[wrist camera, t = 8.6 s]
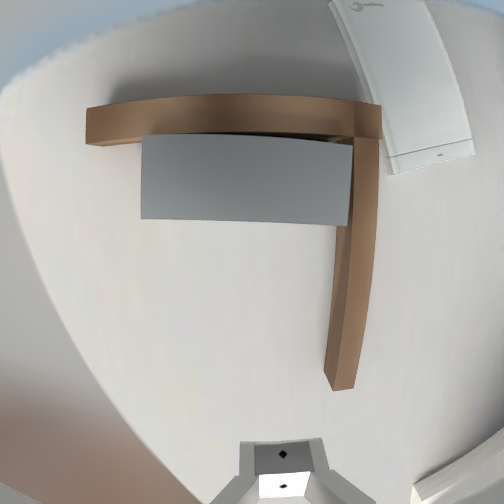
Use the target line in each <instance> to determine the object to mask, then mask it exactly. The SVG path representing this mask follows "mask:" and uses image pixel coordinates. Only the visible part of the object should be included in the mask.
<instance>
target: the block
mask: <svg viewBox="0 0 504 504" xmlns="http://www.w3.org/2000/svg"><path fill="white" fill-rule="evenodd" d="M503 477H504V427H503V428H502V429H501V430H500V431H498V432H497V433H496V434H494V435H493V436H492V437H490V438H489V439H488V440H486V441H485V442H483V443H482V444H481V445H479V446H478V447H476V448H475V449H473V450H472V451H470V452H469V453H467V454H466V455H464V456H463V457H461V458H460V459H458V460H456V461H455V462H453V463H451V464H450V465H448V466H446V467H445V468H443V469H441V470H440V471H438V472H436V473H434V474H432V475H431V476H429V477H427V478H425V479H423V480H421V481H419V482H417V483H415V484H413V488H412V494H411V499H410V504H451V503H454V502H456V501H458V500H460V499H462V498H465V497H467V496H469V495H471V494H473V493H475V492H477V491H479V490H481V489H483V488H485V487H486V486H488V485H490V484H492V483H494V482H496V481H497V480H499V479H501V478H503Z"/></svg>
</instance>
